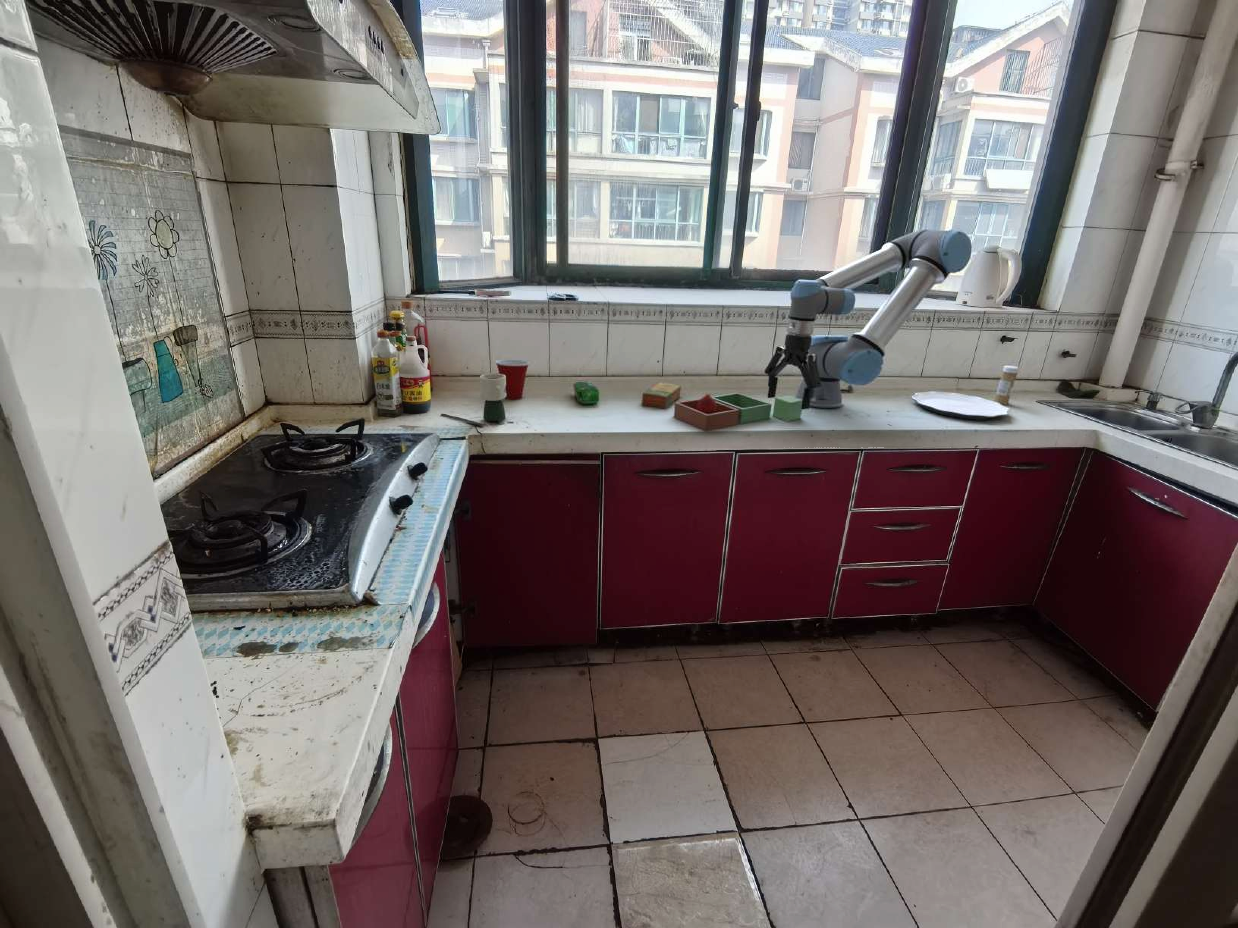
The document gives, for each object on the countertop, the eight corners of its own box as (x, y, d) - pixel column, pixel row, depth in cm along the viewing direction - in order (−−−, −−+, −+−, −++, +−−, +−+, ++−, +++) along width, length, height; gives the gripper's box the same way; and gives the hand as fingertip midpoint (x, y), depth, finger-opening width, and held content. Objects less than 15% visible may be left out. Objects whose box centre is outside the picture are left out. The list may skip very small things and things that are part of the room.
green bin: (736, 406, 195) (738, 392, 194) (769, 418, 184) (771, 404, 182) (708, 411, 189) (709, 397, 187) (740, 424, 178) (742, 409, 176)
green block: (785, 413, 190) (788, 395, 188) (800, 418, 185) (803, 400, 183) (772, 416, 187) (775, 397, 184) (787, 421, 182) (790, 402, 180)
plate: (967, 426, 185) (969, 419, 184) (892, 401, 210) (894, 394, 209) (1027, 418, 197) (1029, 411, 196) (949, 395, 221) (951, 389, 221)
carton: (680, 397, 203) (681, 385, 201) (665, 409, 189) (666, 396, 187) (657, 393, 205) (658, 381, 204) (641, 405, 191) (642, 392, 190)
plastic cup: (534, 394, 198) (534, 359, 193) (522, 403, 188) (522, 365, 183) (504, 391, 200) (503, 356, 195) (491, 399, 190) (489, 362, 185)
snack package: (592, 393, 202) (593, 378, 200) (600, 406, 188) (601, 390, 186) (572, 393, 201) (572, 378, 199) (578, 406, 187) (578, 390, 185)
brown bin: (704, 411, 188) (706, 397, 186) (737, 424, 177) (739, 409, 175) (673, 416, 181) (674, 402, 179) (705, 430, 170) (707, 415, 168)
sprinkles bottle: (1011, 404, 212) (1022, 368, 207) (1000, 405, 211) (1011, 368, 206) (1000, 401, 216) (1011, 365, 211) (990, 401, 215) (1001, 365, 210)
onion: (714, 422, 176) (717, 396, 173) (695, 420, 177) (697, 394, 174) (715, 417, 181) (718, 391, 178) (696, 415, 182) (699, 389, 179)
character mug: (513, 424, 168) (512, 379, 163) (489, 427, 165) (487, 381, 160) (499, 413, 177) (498, 370, 172) (476, 416, 173) (474, 372, 168)
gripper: (759, 327, 184) (749, 394, 191) (825, 342, 165) (811, 415, 173) (776, 327, 188) (766, 391, 195) (842, 341, 169) (828, 412, 177)
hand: (787, 403), depth 184 cm, fingers open, 13 cm apart
